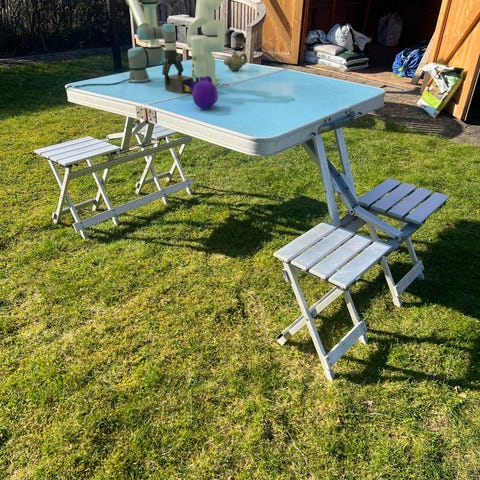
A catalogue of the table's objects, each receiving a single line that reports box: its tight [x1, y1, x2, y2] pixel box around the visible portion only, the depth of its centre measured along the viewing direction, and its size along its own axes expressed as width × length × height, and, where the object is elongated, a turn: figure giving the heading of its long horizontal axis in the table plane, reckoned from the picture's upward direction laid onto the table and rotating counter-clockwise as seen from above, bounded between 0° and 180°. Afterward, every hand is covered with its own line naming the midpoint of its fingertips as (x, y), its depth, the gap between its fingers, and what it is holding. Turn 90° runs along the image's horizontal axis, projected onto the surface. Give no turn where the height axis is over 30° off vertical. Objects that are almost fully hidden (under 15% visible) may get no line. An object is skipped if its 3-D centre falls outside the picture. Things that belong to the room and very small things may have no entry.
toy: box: [181, 76, 219, 110], centre depth 265 cm, size 16×18×27 cm
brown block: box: [163, 73, 194, 94], centre depth 306 cm, size 17×11×8 cm, turn 53°
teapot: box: [223, 50, 248, 72], centre depth 366 cm, size 21×12×15 cm, turn 120°
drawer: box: [183, 79, 197, 95], centre depth 301 cm, size 21×10×6 cm, turn 53°
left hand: (174, 83), depth 309 cm, fingers closed on brown block, 11 cm apart
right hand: (199, 87), depth 297 cm, fingers closed
